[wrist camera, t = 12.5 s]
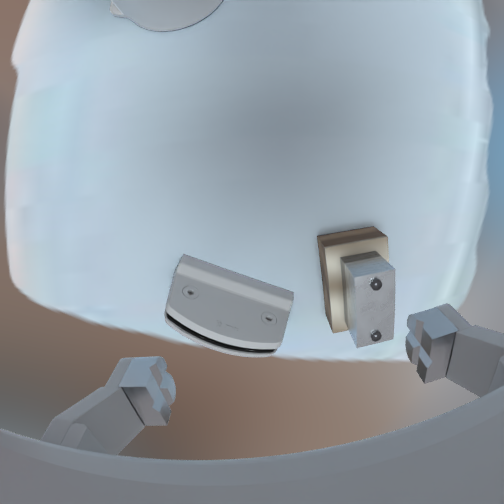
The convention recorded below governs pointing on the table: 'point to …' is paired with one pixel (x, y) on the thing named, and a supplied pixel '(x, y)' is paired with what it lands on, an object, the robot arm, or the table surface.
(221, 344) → the hinge
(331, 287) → the stand
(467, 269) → the table surface
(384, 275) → the block
